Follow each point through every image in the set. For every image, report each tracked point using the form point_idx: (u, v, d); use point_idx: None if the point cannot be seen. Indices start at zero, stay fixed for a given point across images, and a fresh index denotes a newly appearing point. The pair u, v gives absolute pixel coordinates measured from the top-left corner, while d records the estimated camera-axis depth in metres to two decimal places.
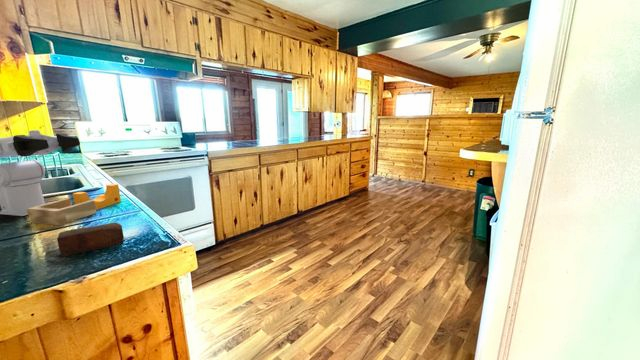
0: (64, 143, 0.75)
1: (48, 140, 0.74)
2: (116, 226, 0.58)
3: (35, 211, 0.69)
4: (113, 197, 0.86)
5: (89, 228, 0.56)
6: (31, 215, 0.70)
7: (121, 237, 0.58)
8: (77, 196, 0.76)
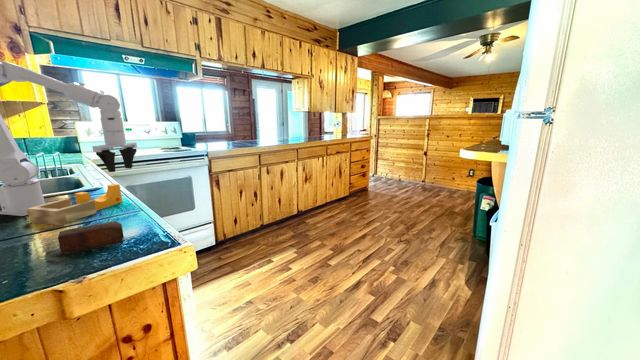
0: (125, 155, 0.92)
1: (124, 146, 0.90)
2: (116, 224, 0.59)
3: (35, 211, 0.69)
4: (115, 197, 0.86)
5: (89, 227, 0.57)
6: (31, 215, 0.70)
7: (121, 235, 0.59)
8: (79, 196, 0.76)
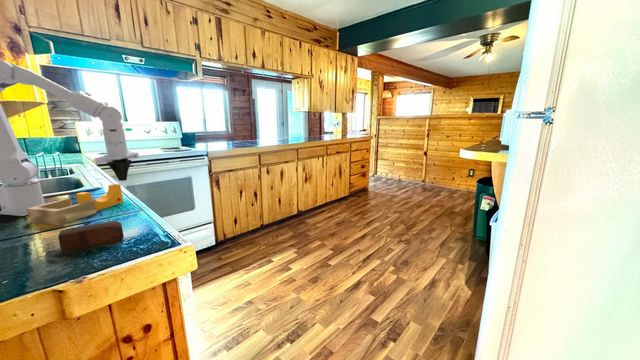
0: None
1: (126, 156, 0.91)
2: (116, 224, 0.60)
3: (35, 211, 0.69)
4: (115, 197, 0.85)
5: (89, 226, 0.57)
6: (31, 215, 0.70)
7: (121, 235, 0.60)
8: (80, 196, 0.76)
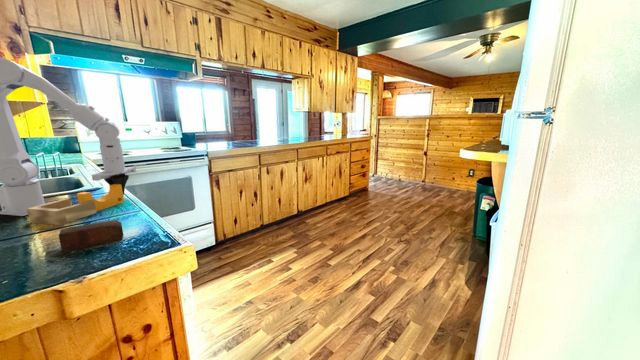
0: None
1: None
2: (116, 223, 0.60)
3: (35, 211, 0.69)
4: (116, 197, 0.85)
5: (89, 225, 0.58)
6: (31, 215, 0.70)
7: (121, 234, 0.60)
8: (81, 196, 0.76)
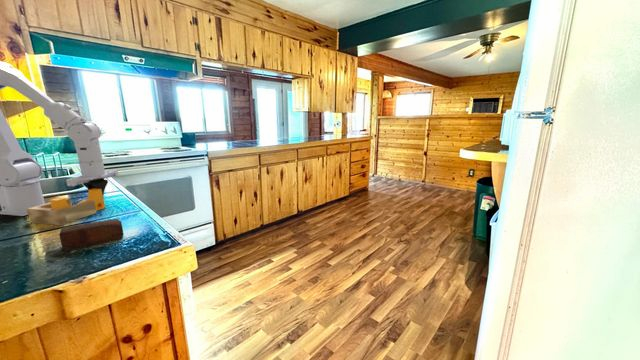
0: (95, 187, 0.82)
1: None
2: (116, 222, 0.61)
3: (35, 211, 0.69)
4: (96, 203, 0.79)
5: (90, 224, 0.58)
6: (31, 215, 0.70)
7: (121, 233, 0.61)
8: (54, 203, 0.69)
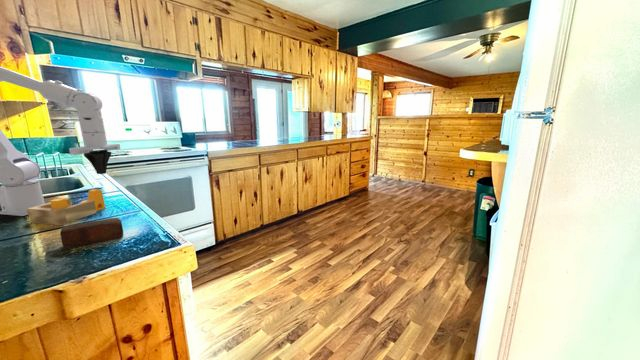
0: None
1: (105, 148, 0.84)
2: (116, 221, 0.61)
3: (35, 211, 0.69)
4: (96, 203, 0.79)
5: (90, 223, 0.59)
6: (31, 215, 0.70)
7: (121, 231, 0.61)
8: (54, 203, 0.69)
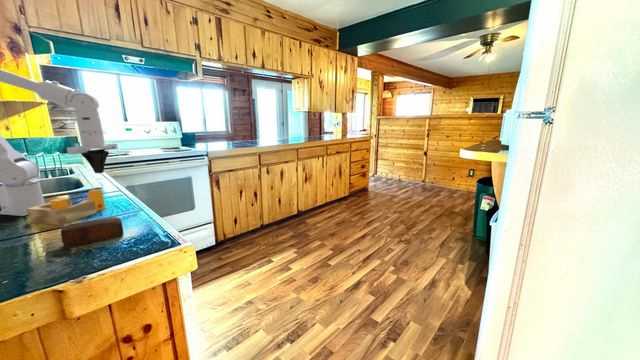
0: None
1: (103, 147, 0.85)
2: (116, 220, 0.62)
3: (35, 211, 0.69)
4: (96, 203, 0.79)
5: (90, 222, 0.60)
6: (31, 215, 0.70)
7: (121, 231, 0.62)
8: (55, 203, 0.69)
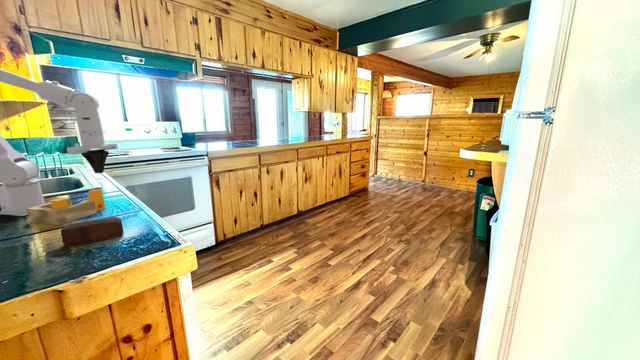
0: None
1: (103, 147, 0.85)
2: (116, 220, 0.62)
3: (35, 211, 0.69)
4: (96, 203, 0.79)
5: (91, 222, 0.60)
6: (31, 215, 0.70)
7: (121, 230, 0.62)
8: (54, 203, 0.69)
